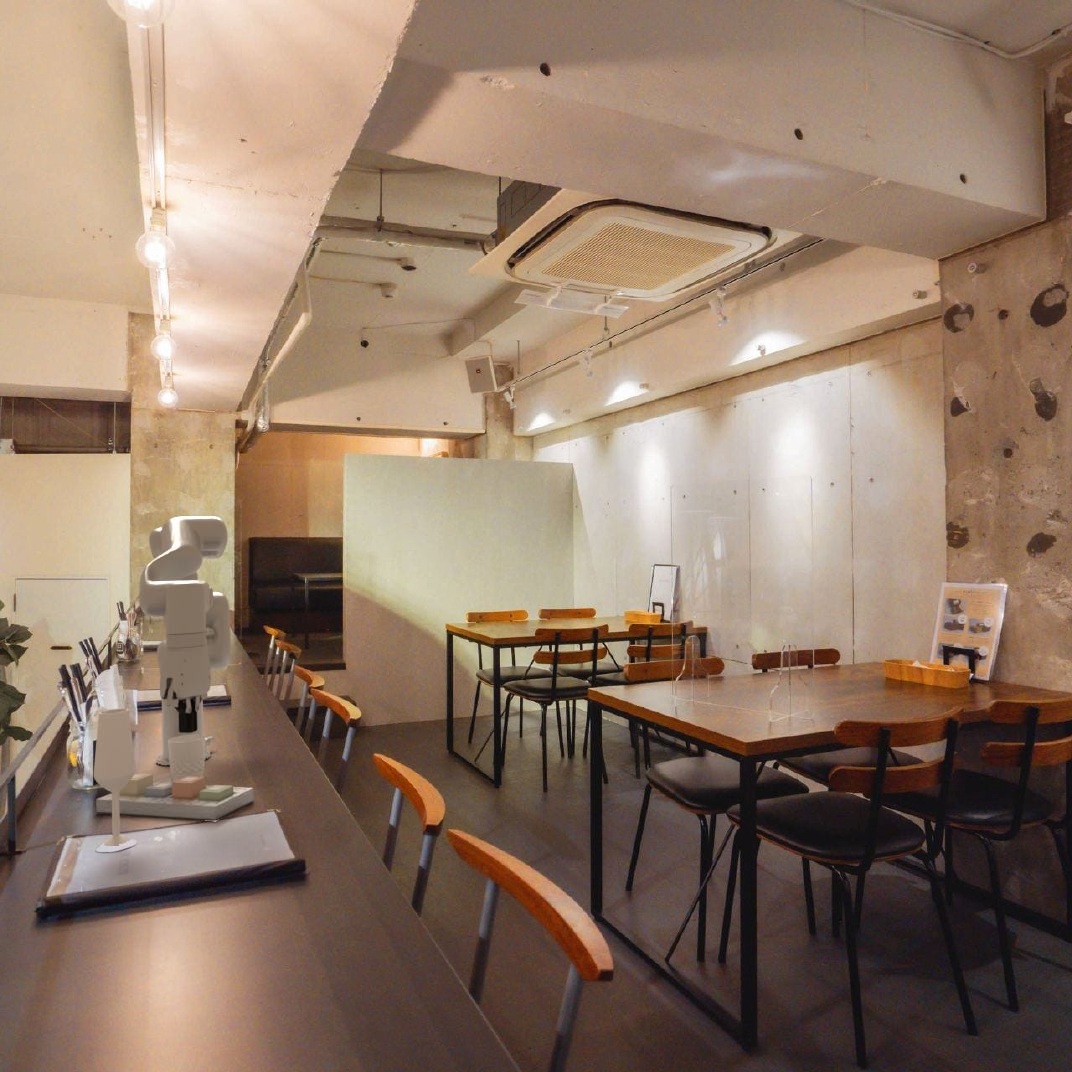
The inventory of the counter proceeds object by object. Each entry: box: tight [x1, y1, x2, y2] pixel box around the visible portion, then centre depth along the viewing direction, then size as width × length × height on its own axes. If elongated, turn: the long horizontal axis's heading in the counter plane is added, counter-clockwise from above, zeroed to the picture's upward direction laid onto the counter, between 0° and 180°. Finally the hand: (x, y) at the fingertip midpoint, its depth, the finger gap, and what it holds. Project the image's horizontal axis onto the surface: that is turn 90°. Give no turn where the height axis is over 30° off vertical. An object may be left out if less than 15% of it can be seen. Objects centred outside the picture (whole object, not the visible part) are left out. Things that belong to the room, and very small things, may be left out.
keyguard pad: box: [95, 782, 254, 822], centre depth 159 cm, size 12×28×3 cm, turn 75°
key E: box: [200, 784, 234, 801], centre depth 156 cm, size 4×4×4 cm
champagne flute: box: [93, 708, 137, 846], centre depth 139 cm, size 7×7×24 cm
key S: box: [119, 772, 154, 796], centre depth 161 cm, size 4×4×4 cm
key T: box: [145, 781, 172, 798], centre depth 160 cm, size 4×4×4 cm
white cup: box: [168, 734, 206, 783], centre depth 178 cm, size 8×8×10 cm
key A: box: [172, 776, 207, 799], centre depth 158 cm, size 4×4×4 cm
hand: (188, 731), depth 158 cm, fingers closed
